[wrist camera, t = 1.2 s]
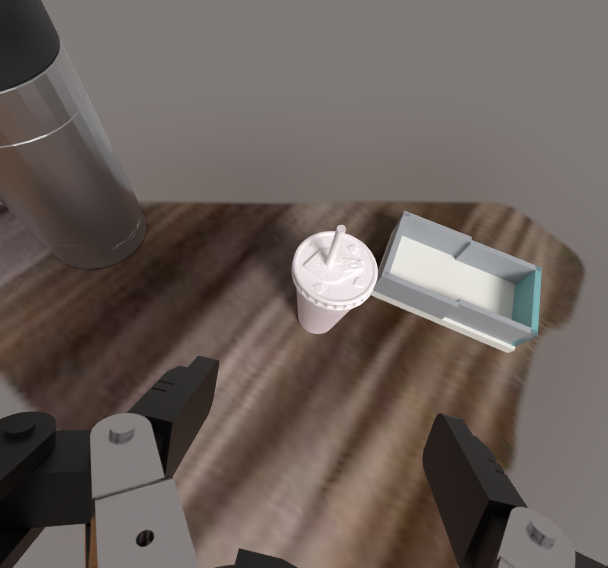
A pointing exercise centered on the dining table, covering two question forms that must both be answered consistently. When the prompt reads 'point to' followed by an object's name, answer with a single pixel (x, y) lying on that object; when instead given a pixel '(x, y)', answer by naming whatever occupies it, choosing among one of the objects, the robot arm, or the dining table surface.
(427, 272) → the grey tray
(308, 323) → the smoothie
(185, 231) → the dining table surface
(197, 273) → the dining table surface
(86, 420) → the dining table surface
